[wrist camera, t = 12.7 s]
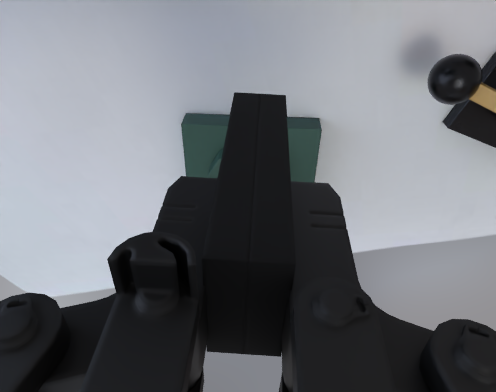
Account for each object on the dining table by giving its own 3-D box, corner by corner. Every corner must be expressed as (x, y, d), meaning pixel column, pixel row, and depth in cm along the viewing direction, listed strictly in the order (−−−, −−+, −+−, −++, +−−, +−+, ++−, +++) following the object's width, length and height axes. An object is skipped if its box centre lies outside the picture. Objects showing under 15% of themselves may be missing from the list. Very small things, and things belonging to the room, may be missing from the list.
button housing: (193, 201, 41) (186, 226, 38) (185, 113, 35) (176, 133, 32) (307, 206, 41) (310, 232, 37) (319, 118, 35) (323, 139, 31)
